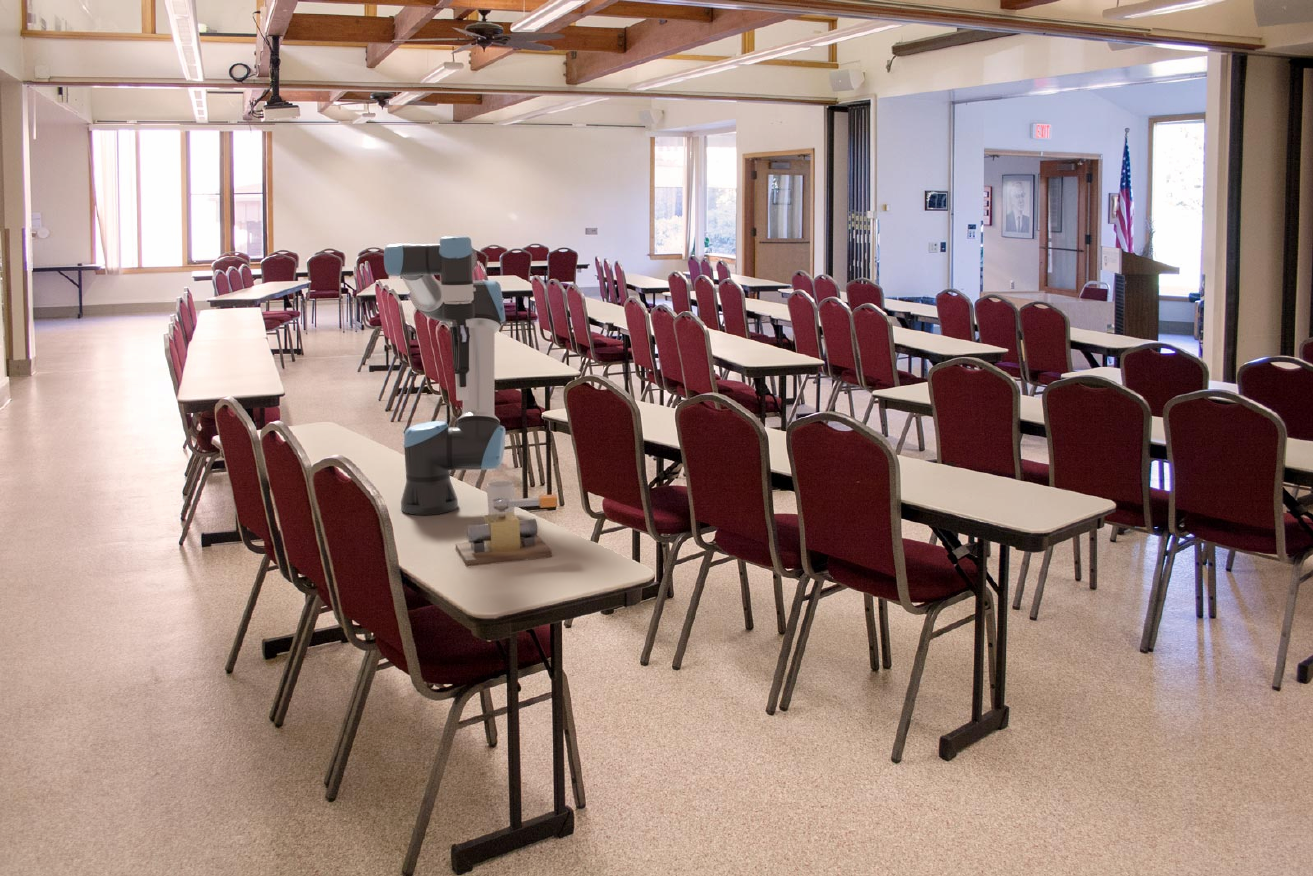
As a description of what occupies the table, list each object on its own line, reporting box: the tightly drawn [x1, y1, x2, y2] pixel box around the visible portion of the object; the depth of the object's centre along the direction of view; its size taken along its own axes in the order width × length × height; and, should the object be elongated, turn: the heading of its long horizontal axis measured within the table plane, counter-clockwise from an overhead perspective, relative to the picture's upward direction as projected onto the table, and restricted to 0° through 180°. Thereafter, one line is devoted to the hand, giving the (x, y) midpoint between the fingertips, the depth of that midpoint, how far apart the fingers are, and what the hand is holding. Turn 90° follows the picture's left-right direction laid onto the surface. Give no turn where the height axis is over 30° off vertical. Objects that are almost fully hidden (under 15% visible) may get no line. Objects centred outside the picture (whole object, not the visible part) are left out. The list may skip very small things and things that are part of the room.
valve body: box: [466, 509, 538, 553], centre depth 265 cm, size 7×16×9 cm, turn 110°
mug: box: [486, 480, 515, 515], centre depth 286 cm, size 10×7×12 cm, turn 19°
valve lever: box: [493, 493, 558, 510], centre depth 265 cm, size 15×4×2 cm, turn 102°
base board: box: [454, 534, 553, 567], centre depth 266 cm, size 14×20×2 cm
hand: (462, 399), depth 273 cm, fingers closed
